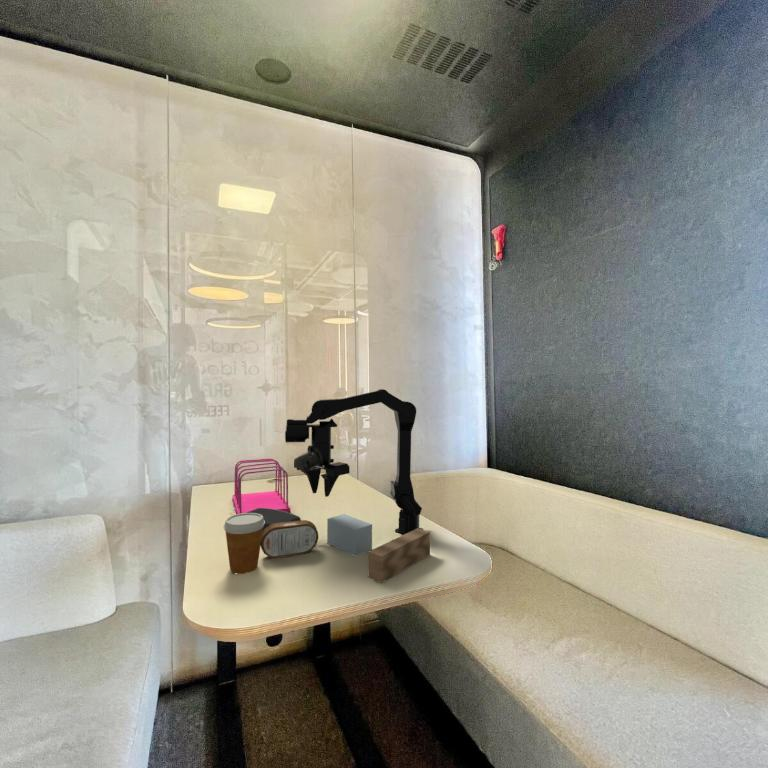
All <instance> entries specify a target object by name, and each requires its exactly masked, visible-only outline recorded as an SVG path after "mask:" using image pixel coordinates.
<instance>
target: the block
mask: <svg viewBox="0 0 768 768" xmlns="http://www.w3.org/2000/svg"><path fill="white" fill-rule="evenodd" d="M326 520H327V524H326V525H327V529H326V530H327V531H326V532H327V533H326V536H327V537H326V538H327V539H326V540H327V541H326V543H327V544H329V545H331V546H333V547H334V548H337V549H339V550H341V551H344V552H345V553H348V554H349V555H351V556H354V557H357V556H359V555H361V554H364V553H366V552H369V551H371V550H373V524H372V523H370V522H368V521H364V520H362V519H358V518H356V517H354V516H351V515H348V514H346V513H342V514H339V515H336V516H335V515H334V516H332V517H328V518H327V519H326Z"/></svg>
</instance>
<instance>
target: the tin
mask: <svg viewBox="0 0 768 768" xmlns="http://www.w3.org/2000/svg"><path fill="white" fill-rule="evenodd" d="M318 541H319V531H318V529H317V527H316V525H315V524H314V523H313V522H312V521H310V520H306V519H305V520H304V519H301V521H292V522H282V523H274V524H271V525H269V526H268V527H267V528H265V529H264V531H263V532H262V538H261V545H260V550H262V552H263V554H264V555H265V556H267V557H269V558H272V559H273V558H274V559H278V558H283V557H291V556H298V555H304V554H308V553H309V552H311V551H312V550H314V548H315V547H316V546H317V544H318Z"/></svg>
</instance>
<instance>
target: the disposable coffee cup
mask: <svg viewBox="0 0 768 768" xmlns="http://www.w3.org/2000/svg"><path fill="white" fill-rule="evenodd" d="M264 524H265V521H264V519H263V516H262V515H261V514H257V513H242V514H237V513H236V514H233V515H230V516H229V517H227V518H226V519H225V522H224V524H223V525H222V527H223V529H224V531H225V537H226V545H227V554H228V555H227V556H228V562H229V570H230V572H231V573H232V572H233V574H235V573H237V575H243V574H248V573H252V572H254V571H255V570H256V569H258V567H259V558H260V550H261V546H260V545H261V538H262V530H263V526H264Z"/></svg>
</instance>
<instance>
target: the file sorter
mask: <svg viewBox="0 0 768 768" xmlns="http://www.w3.org/2000/svg"><path fill="white" fill-rule="evenodd" d="M249 463H253V464H249ZM255 463H256V464H255ZM243 464H247V465H243ZM267 465H268V466H267ZM269 465H271V466H269ZM256 466H259V467H256ZM241 469H242V470H241ZM260 469H261V470H260ZM240 470H241V471H240ZM245 471H246V472H245ZM238 472H239V473H238ZM265 472H275V484H274V485H275V489H274V490H272V491H270V490H269V491H260V492H259V491H258V492H250V493H249V492H248V493H242V479H243V477H244V476H246V475H249V474H256V473H265ZM282 474H283V475H282ZM282 476H283V478H282ZM282 480H283V482H282ZM232 503H233V505H234V509H235V513H236V514H242V513H247V512H249V511H252V510H255V509H257V508H268V509H275V510H280V511H285V512H288V513H291V506H290V505H289V475H288V472H287V470H286V469H284V467H282V466H281V465H280V463H279V461H277V460H275V459H274V458H258V459H257V458H256V459H244V460H243V459H242V460H239V461H238V462H237V463H236V464H235V466H234V494H232Z"/></svg>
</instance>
